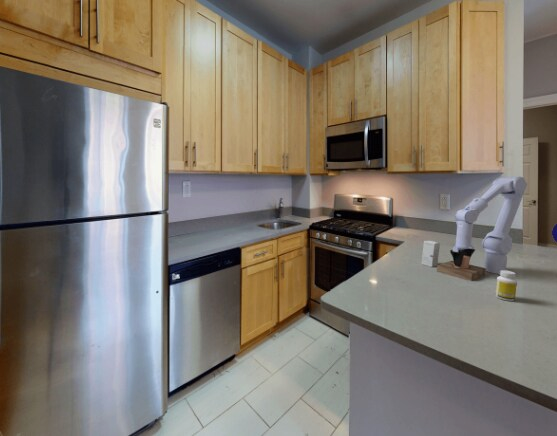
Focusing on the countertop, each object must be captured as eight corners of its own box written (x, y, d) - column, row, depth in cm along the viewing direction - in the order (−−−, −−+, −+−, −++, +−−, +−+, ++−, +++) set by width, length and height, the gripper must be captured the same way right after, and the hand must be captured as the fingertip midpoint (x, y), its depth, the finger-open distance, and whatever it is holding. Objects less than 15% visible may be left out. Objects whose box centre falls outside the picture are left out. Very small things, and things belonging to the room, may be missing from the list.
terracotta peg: (457, 270, 122) (459, 254, 121) (468, 273, 118) (469, 256, 117) (453, 272, 120) (454, 255, 119) (463, 275, 116) (465, 258, 115)
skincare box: (421, 263, 133) (422, 240, 131) (427, 262, 134) (428, 240, 133) (432, 267, 127) (434, 243, 125) (438, 266, 129) (440, 242, 127)
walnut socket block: (451, 266, 128) (452, 260, 128) (485, 274, 117) (486, 268, 116) (436, 271, 121) (437, 265, 121) (471, 280, 109) (471, 274, 109)
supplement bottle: (518, 302, 90) (522, 275, 88) (500, 300, 91) (504, 274, 90) (508, 295, 95) (511, 270, 94) (491, 294, 96) (494, 269, 95)
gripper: (466, 239, 109) (463, 270, 111) (481, 235, 117) (478, 264, 119) (448, 236, 115) (446, 265, 117) (463, 233, 123) (461, 260, 125)
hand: (461, 264), depth 118 cm, fingers open, 7 cm apart
